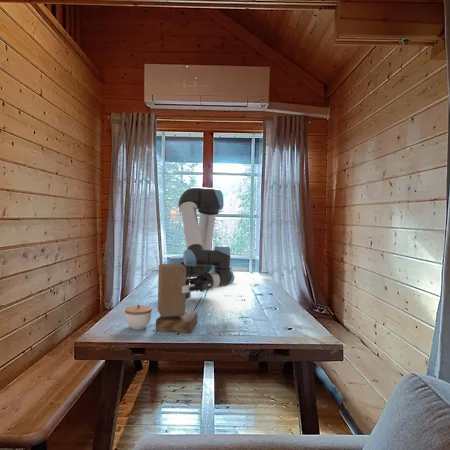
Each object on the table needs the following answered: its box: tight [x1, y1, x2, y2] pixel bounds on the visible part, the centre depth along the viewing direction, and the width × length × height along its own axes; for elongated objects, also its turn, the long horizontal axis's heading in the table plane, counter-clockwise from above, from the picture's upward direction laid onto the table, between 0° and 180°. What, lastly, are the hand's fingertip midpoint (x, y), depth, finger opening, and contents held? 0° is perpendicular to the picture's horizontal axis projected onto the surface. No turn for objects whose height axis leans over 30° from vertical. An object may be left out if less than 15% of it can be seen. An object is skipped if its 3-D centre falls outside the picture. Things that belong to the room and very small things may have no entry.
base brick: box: [155, 311, 198, 335], centre depth 143 cm, size 14×14×5 cm
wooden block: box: [157, 263, 186, 317], centre depth 141 cm, size 10×10×20 cm
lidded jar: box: [124, 303, 153, 331], centre depth 141 cm, size 11×11×9 cm
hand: (171, 287), depth 140 cm, fingers closed on wooden block, 12 cm apart
